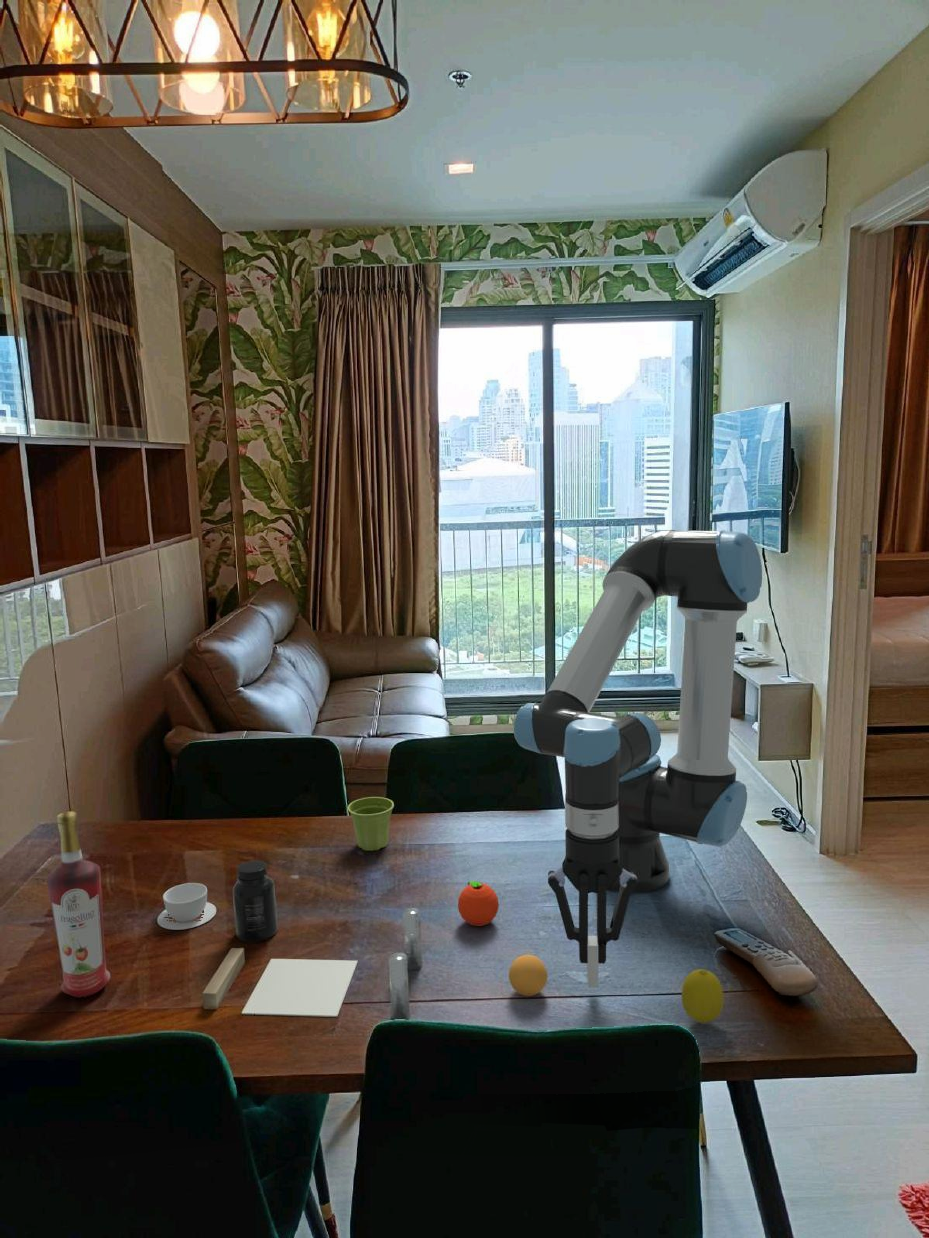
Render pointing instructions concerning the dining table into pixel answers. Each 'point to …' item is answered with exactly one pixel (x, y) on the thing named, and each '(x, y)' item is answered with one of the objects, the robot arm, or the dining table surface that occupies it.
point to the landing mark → (301, 988)
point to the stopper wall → (223, 978)
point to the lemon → (702, 996)
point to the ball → (528, 975)
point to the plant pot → (371, 821)
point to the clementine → (478, 904)
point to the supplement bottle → (254, 903)
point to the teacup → (186, 906)
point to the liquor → (77, 914)
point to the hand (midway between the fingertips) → (592, 981)
